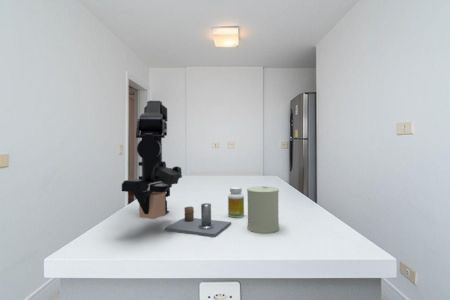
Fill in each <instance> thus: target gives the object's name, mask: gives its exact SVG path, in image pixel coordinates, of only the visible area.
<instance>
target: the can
mask: <svg viewBox="0 0 450 300" xmlns="http://www.w3.org/2000/svg"><path fill="white" fill-rule="evenodd" d="M246 191H247V230H248V231H250V232H252V231H253V232H252V233H256V234H257V233H258V234H273V233H276V232H278V231H279V230H280V226H279V225H280V224H279V223H280V222H279V188H276V187H273V186H253V187H248V188H247V189H246Z"/></svg>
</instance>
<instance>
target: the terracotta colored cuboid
mask: <svg viewBox="0 0 450 300" xmlns="http://www.w3.org/2000/svg"><path fill="white" fill-rule="evenodd" d="M138 205H139V208H138V209H139V210H138V211H139V214H138V215H139V219H140V218H142V219H149V220H156V219H159V218H161V217H163V216H165V215H166V213H165V192H152V193H151V195H150V199H149V212H148V214H144V212H143V210H142V208H141V206H140V204H138Z"/></svg>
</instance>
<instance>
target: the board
mask: <svg viewBox="0 0 450 300" xmlns="http://www.w3.org/2000/svg"><path fill="white" fill-rule="evenodd" d="M200 224H201V218H198V217H197V218H196V217H194V221H191V222H186V221H185V217H183V218H181V219H179V220H177V221H175V222H173V223H171V224H168V225H167V226H165V227H163V229H164V231H167V232H172V233H182V234H188V235H195V236H204V237H211V238H216V237H217V236H219V234H221V233H222V232H223V231H225V230H227V228H229V227H230V226H232V221H226V220H225V221H224V220H217V219H211V224H213V225H214V227H213V228H211V229H200V228H199V225H200Z"/></svg>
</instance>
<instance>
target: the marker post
mask: <svg viewBox="0 0 450 300" xmlns="http://www.w3.org/2000/svg"><path fill="white" fill-rule="evenodd" d="M200 209H201V210H200V213H201V215H200V216H201V218H200V219H201V224H200V225H199V228H200V229H211V228H213V227H214V225H213V224H211V220H212V203H207V202H205V203H201V208H200Z"/></svg>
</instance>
